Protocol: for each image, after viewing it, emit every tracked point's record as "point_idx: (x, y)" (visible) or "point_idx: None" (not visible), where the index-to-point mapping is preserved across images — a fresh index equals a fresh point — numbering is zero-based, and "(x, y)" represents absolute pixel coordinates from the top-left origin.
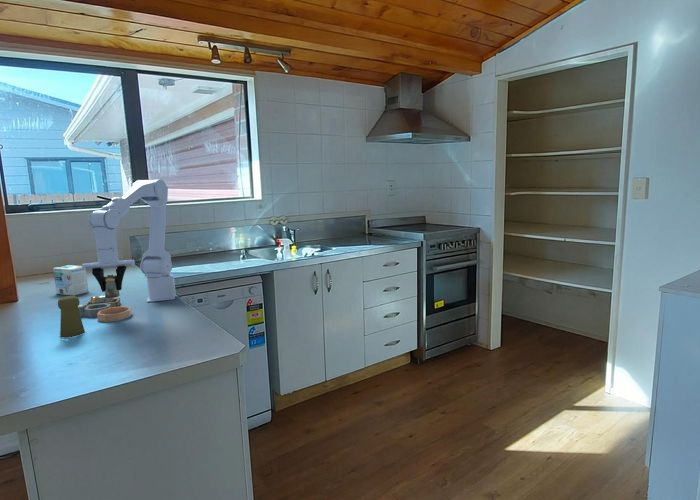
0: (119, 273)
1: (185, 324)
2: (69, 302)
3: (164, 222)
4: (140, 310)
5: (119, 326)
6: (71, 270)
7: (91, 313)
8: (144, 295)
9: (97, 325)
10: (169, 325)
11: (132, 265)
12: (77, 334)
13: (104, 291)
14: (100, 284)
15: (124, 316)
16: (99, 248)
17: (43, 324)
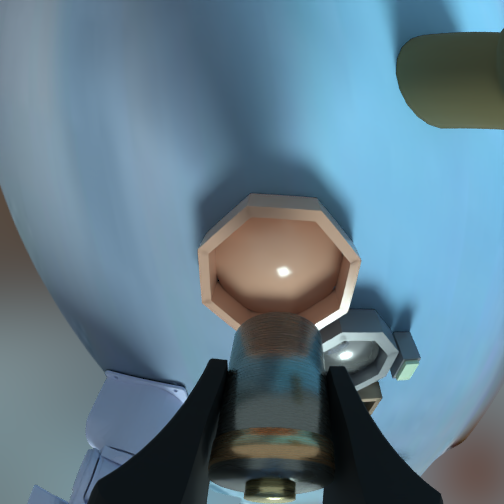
0: (151, 482)
1: (11, 48)
2: None
3: None
4: (182, 314)
5: (237, 79)
6: None
7: (375, 320)
8: None
9: (352, 158)
10: (45, 40)
11: (41, 498)
12: (418, 37)
13: (329, 368)
14: (361, 413)
15: (226, 217)
16: None
17: (496, 289)
